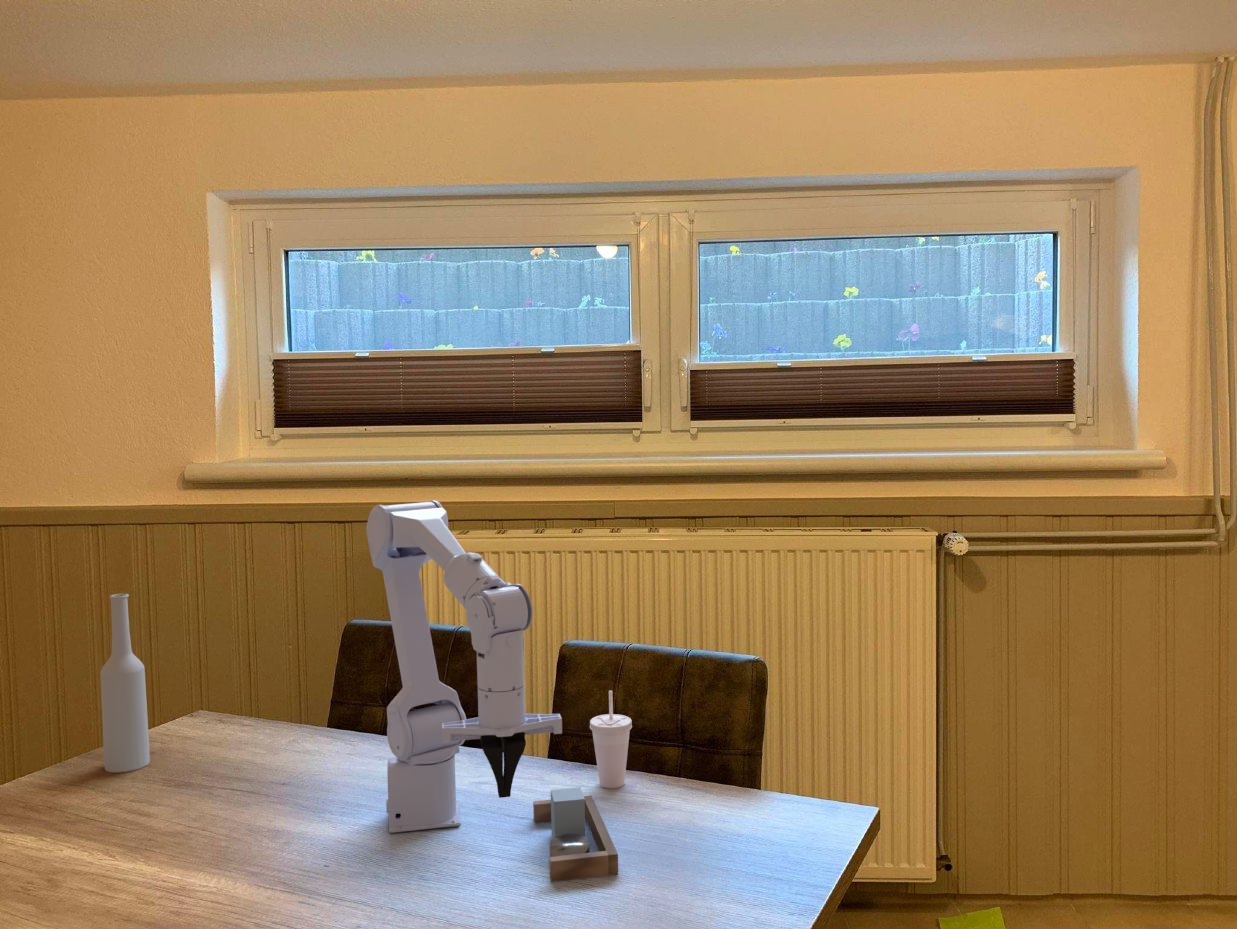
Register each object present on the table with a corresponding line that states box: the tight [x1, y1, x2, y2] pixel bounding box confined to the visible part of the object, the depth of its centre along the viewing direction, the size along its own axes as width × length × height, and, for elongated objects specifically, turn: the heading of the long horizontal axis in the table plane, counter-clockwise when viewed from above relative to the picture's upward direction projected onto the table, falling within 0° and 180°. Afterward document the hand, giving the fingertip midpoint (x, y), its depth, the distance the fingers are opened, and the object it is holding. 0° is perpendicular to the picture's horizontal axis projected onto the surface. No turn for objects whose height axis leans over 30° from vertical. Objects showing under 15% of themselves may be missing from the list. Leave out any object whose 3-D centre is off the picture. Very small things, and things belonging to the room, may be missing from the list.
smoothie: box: [589, 690, 633, 789], centre depth 147 cm, size 6×6×14 cm
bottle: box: [100, 593, 151, 774], centre depth 158 cm, size 7×7×28 cm
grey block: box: [550, 787, 587, 839], centre depth 129 cm, size 4×4×6 cm
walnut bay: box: [532, 795, 619, 883], centre depth 127 cm, size 8×18×2 cm, turn 12°
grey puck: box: [548, 834, 591, 858], centre depth 122 cm, size 5×5×2 cm
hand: (504, 794), depth 120 cm, fingers closed
